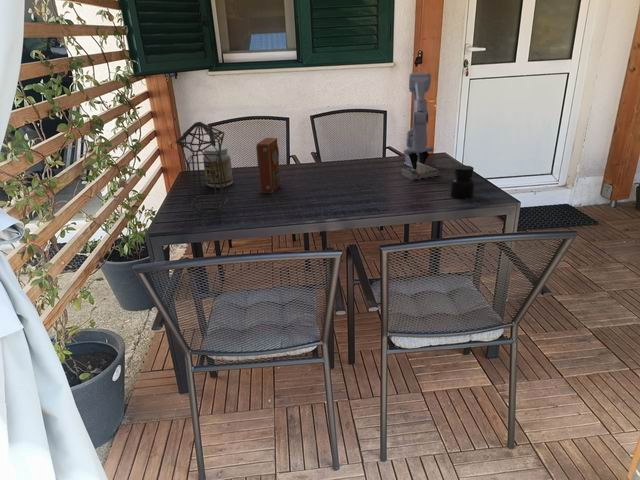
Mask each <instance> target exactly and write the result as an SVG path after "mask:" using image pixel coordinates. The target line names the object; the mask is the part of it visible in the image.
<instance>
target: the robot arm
mask: <svg viewBox="0 0 640 480" xmlns="http://www.w3.org/2000/svg"><path fill="white" fill-rule="evenodd" d="M408 78H409V79H408V90H409V92H410V93H412V95H413V115H412V128H411V129H409V130H408V131H407V133H406V147H407V148H406V149H404V150H403V155H404V162H403V163H404V164H403V165H405V164H406V165H405V166H408V167H409V168H412V167H413V169H416V167H417V162H420V163H422V164H424V165H426V164H425V162H426V160H427V159H428V157H429V154H430V153H429V152H432V153H434V150H435V149H434V147H433V146H428V131H427V126H428V124H429V111H428V101H427V99H426V98H425V93H428V92H429V90H430V88H431V87H430V86H431V81H432V74H431V73H430V72H425V73H424V72H422V73H421V72H417V73H416V72H415V73H414V72H411V73H410V74H409V76H408Z"/></svg>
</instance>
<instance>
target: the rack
mask: <svg viewBox="0 0 640 480" xmlns="http://www.w3.org/2000/svg"><path fill="white" fill-rule="evenodd" d="M425 165H426V164H425ZM402 175H403V176H402ZM400 176H402V177H404V176H405V177H404V178H406V177H407V178H406V179H408V178H409V179H408V180H410V179H411V180H410V181H415V180H414V179H418V180H422V179H421V178H425V179H428V178H427V177H432V178H434V177H433V176H438V177H439V169H437V168H434V167H432V166H429V165H428V164H427V165H426V172H425V173H418V172H416V171H414V170H412V168H411V167H406V168H401V169H400Z"/></svg>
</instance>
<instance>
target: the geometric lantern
mask: <svg viewBox="0 0 640 480" xmlns="http://www.w3.org/2000/svg"><path fill="white" fill-rule="evenodd" d="M193 130H195V131H194V132H193ZM213 130H214V131H213ZM197 131H198V133H197ZM215 131H216V132H215ZM204 132H205V133H204ZM207 135H208V136H209V141H208V140H207V141H206V140H204V136H207ZM189 136H191V137H192V138H191V140H190V141H189V142H188V141H187V138H188V137H189ZM197 136H198V137H197ZM201 137H202V139H201ZM224 137H225V132H224V131H222V130H220V129H217V128H214V127H212V126H210V125H208V124H205V123H204V122H202V121H197V122H194V123H193V124H192V125H191V126H190V127H188V129H187V130H186V131H184V132H183V133H182V135H181V136H180V137H179V138H178V139H177V140H176V141H175V142H174V144H178V145H179V146H180V147H181V149H182V153H183V157H184V162H185V163H186V177H187V191H188V203H189V204H188V206H189V208H190V209H192V210H194V211H195V212H197V213H198V215H197V216H198V217H200V218H203V217H204V218H205V217H206V218H207V217H219V216H221V215H222V211H223V208H224V207H225V206H226V204H227V202H228V201H229V191H228V186H227V185H226V180H225V175H224V170H223V164H222V159H221V146H223V141H224ZM194 139H196V140H198V143H193V142H194ZM216 143H218V146H219V149H220V151H219V150H218V151H217V149H216V148H215V146H216V145H214V144H216ZM188 145H189V146H190V147H189V146H188ZM202 145H206V146H205V147H202V148H201V146H202ZM192 146H198V148H197V149H196V150H194V149H193V147H192ZM211 146H214V148H215V149H216V151H217V152H218V154H205V153H204V149H206V148H208V147H211ZM184 148H186V149H188V150H189V151H190V152H191V153H192V155H191V154H190V156H189V157H188V158H187V157H186V154H185V149H184ZM199 152H201V154H198V153H199ZM206 155H217V157H218V158H216V161H213V162H211V161H210V160H209V158H208V157H207V156H206ZM199 156H205V157H206V158H207V159H208V160H209V162H202V161H200V162H199ZM195 157H196V162H195V159H194V158H195ZM217 160H218V161H219V168H220V176H221V183H220V178H219V172H218V167H217ZM220 161H221V165H220ZM204 163H211V169H212V176H213V182H214V187H213V189H214V195H213V194H212V195H203V193H202V184H201V183H202V182H201V174H200V173H201V172H200V164H204ZM212 163H215V164H216V170H217V175H218V180H219V186H220V188H219V190H220V194H217V193H218V192H217V188H216V185H215V179H214V172H213V166H212ZM195 164H197V173H198V174H197V175H198V181H199V182H198V183H199V191H200V192H199V193H200V195H198V196H197V187H196V174H195V171H196V170H195ZM190 165H192V172H193V173H192V172H191V166H190ZM221 167H222V172H223V177H224V182H225V187H223V181H222V173H221ZM192 174H193V175H192ZM192 177H193V182H192ZM221 184H222V187H221ZM193 188H194V189H193ZM224 188H225V191H224ZM225 193H226V195H225ZM213 197H214V198H215V200H216V202H213V203H204V202H203V199H202V198H213ZM219 197H220V201H219V200H218V198H219ZM224 197H225V199H224ZM191 198H192V200H191ZM199 198H200V201H199V200H198V199H199ZM191 201H192V202H191ZM195 201H196V202H197V203H198V205H199V206H197V207H196V204H195ZM200 202H201V203H200ZM208 205H209V206H208ZM210 205H217V206H210ZM216 209H217V210H216ZM215 212H216V213H217V214H210V215H209V214H208V215H202V213H215Z"/></svg>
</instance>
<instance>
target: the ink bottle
mask: <svg viewBox="0 0 640 480" xmlns="http://www.w3.org/2000/svg"><path fill="white" fill-rule="evenodd" d="M454 171H455V172H454V178H452V180H451V185H450V196H451V198H453V199H457V198H460V199H459V200H467V199H466V198H470V199H472V198H473V197H474V194H475V193H474V192H475V183H476V182H475V179H473V175H474V167H473V166H471V165H462V164H461V165H457V166H455V170H454ZM471 197H472V198H471Z"/></svg>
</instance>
